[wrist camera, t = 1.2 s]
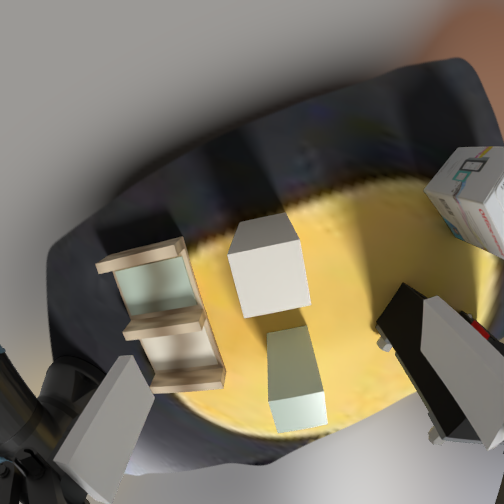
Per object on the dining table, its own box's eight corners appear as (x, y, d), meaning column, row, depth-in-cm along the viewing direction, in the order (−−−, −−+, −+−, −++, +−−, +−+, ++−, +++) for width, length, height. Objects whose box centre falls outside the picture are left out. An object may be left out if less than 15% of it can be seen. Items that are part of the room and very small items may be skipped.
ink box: (488, 194, 29) (548, 210, 18) (454, 238, 31) (513, 267, 20) (457, 144, 28) (521, 144, 17) (421, 189, 30) (483, 204, 19)
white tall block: (250, 265, 33) (244, 318, 22) (239, 222, 32) (227, 254, 20) (294, 256, 33) (311, 305, 21) (285, 212, 31) (299, 239, 20)
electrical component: (366, 335, 35) (427, 454, 16) (410, 269, 33) (514, 359, 13) (441, 369, 37) (500, 454, 18) (478, 317, 35) (555, 390, 15)
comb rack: (160, 377, 38) (152, 393, 35) (109, 254, 33) (95, 264, 30) (226, 371, 37) (223, 388, 34) (182, 236, 32) (174, 244, 29)
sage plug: (274, 364, 37) (277, 433, 25) (266, 333, 35) (268, 401, 24) (312, 356, 36) (327, 424, 25) (306, 325, 35) (323, 391, 23)
